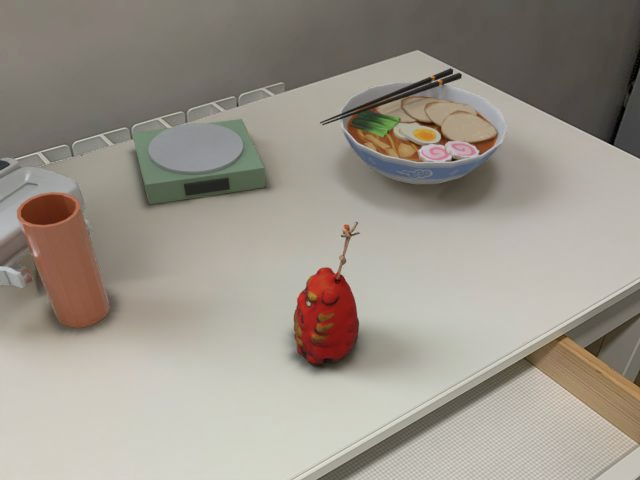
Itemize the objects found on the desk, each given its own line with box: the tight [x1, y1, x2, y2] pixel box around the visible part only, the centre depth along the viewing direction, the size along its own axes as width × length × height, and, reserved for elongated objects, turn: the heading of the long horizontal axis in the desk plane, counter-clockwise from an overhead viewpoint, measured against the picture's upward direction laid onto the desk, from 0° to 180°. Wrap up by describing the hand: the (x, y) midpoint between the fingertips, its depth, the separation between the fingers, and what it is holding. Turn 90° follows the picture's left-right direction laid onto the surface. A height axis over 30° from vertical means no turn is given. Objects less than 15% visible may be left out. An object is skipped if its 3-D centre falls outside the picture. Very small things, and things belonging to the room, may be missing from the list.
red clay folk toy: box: [293, 221, 361, 366], centre depth 67 cm, size 8×7×15 cm
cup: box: [17, 192, 110, 328], centre depth 71 cm, size 6×6×13 cm
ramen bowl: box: [319, 67, 509, 185], centre depth 93 cm, size 25×23×8 cm
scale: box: [132, 118, 266, 205], centre depth 93 cm, size 16×14×4 cm
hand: (57, 254), depth 71 cm, fingers open, 8 cm apart
